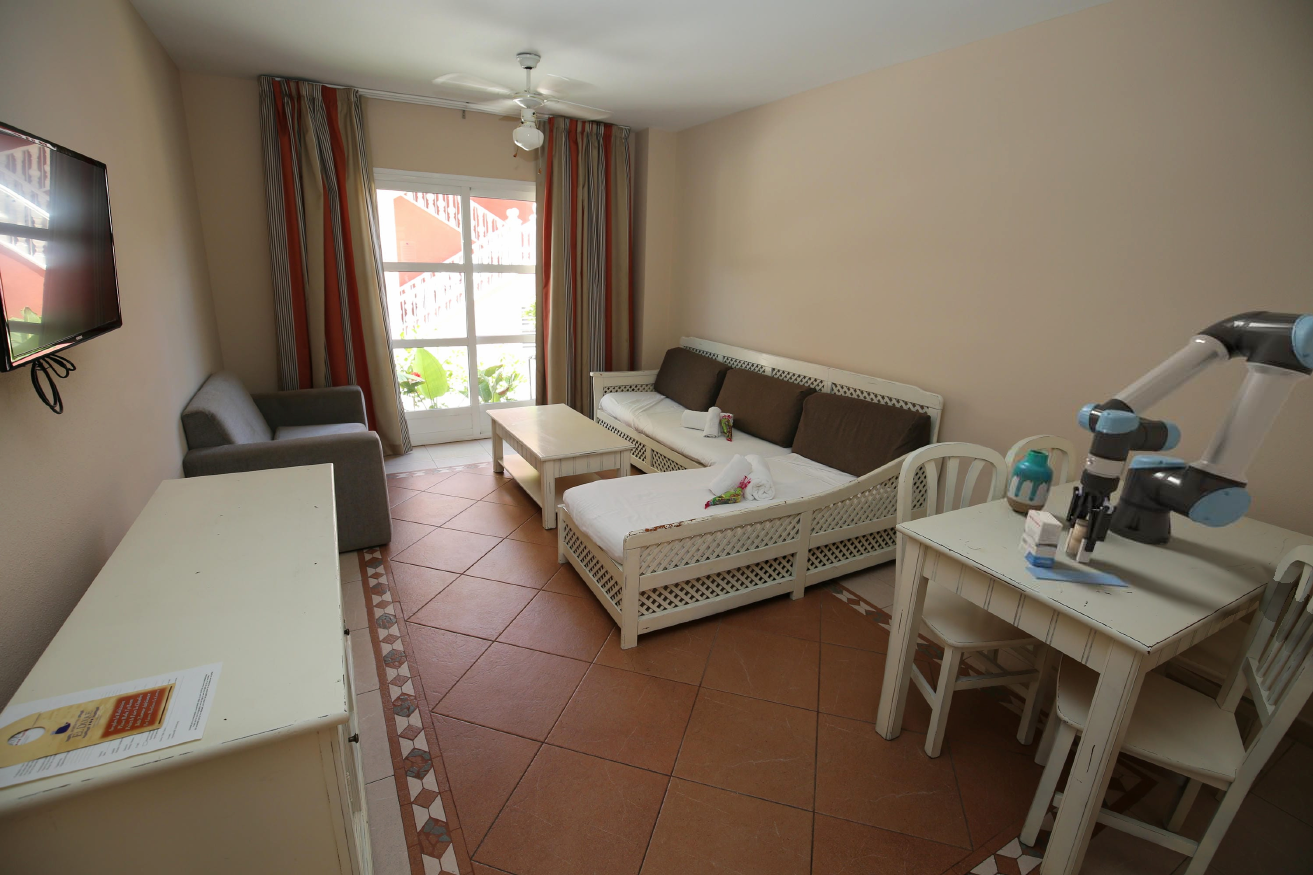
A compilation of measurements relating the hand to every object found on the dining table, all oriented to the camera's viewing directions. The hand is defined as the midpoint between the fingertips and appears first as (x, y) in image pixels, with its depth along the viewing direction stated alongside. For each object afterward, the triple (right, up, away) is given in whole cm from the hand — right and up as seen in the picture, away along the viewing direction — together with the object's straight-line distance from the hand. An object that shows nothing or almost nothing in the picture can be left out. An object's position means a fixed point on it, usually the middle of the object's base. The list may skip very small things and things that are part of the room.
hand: (1076, 556), depth 151 cm
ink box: (-12, 0, -2) cm, 12 cm away
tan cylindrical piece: (0, 0, 0) cm, 0 cm away
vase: (+4, +8, +28) cm, 29 cm away
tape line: (-7, -3, -10) cm, 13 cm away
